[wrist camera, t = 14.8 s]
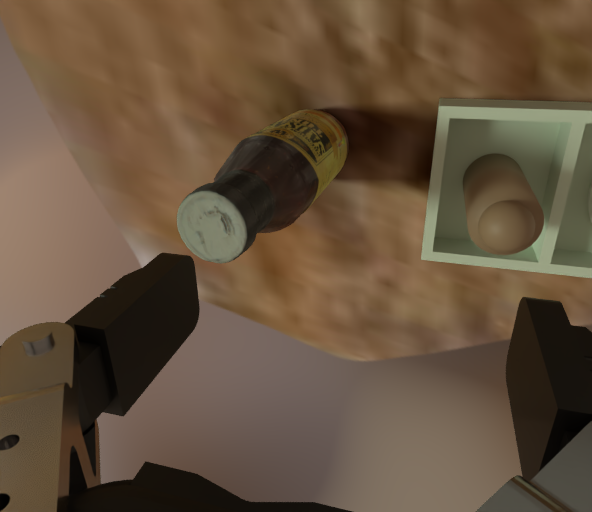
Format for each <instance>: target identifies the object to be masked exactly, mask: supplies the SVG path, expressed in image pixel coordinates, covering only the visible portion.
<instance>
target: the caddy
mask: <svg viewBox="0 0 592 512" xmlns="http://www.w3.org/2000/svg"><path fill="white" fill-rule="evenodd" d="M591 182H592V102H564V101H528V100H492V99H456V98H440V100H439V109H438V117H437V126H436V134H435V143H434V151H433V160H432V168H431V177H430V185H429V194H428V202H427V210H426V219H425V227H424V236H423V245H422V256H421V260H430V261H439V262H448V263H457V264H467V265H476V266H485V267H494V268H503V269H513V270H522V271H531V272H540V273H549V274H559V275H568V276H577V277H586V278H592V223H591V220H590V217H589V212H588V193H589V188H590V185H591Z"/></svg>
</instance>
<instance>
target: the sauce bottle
mask: <svg viewBox="0 0 592 512" xmlns="http://www.w3.org/2000/svg"><path fill="white" fill-rule="evenodd" d="M348 152H349V141H348V136H347V134H346V131H345V129H344V126H343V125H342V124H341V123H340V122H339V121H338V120H337V119H336V118H335V117H333V116H332V115H330V114H329V113H327V112H324V111H322V110H315V109H314V110H309V109H308V110H300V111H297V112H295V113H293V114H291V115H289V116H287V117H285V118H283V119H281V120H280V121H278V122H276V123H274V124H271V125H270V126H268V127H266V128H264V129H262V130H260V131H259V132H257V133H255V134H253V135H251V136H249V137H247V138H245V139H244V140H242V141H241V142H240V143H239V144H238V145H237V146H236V148H235V149H234V150H233V152H232V153H231V155H230V156H229V157H228V159H227V160H226V162H225V163H224V165H223V166H222V167H221V169H220V170H219V172H218V173H217V174H216V177H215V178H214V181H215V182H214V183H208V184H205V185H203V186H201V187H199V188H197V189H196V190H194V191H193V192H192V193H190V194H189V195H188V196H187V197H186V198H185V199H184V200H183V202H182V203H181V205H180V207H179V210H178V214H177V226H178V231H179V233H180V235H181V238H182V240H183V241H184V242H185V244H186V246H187V247H188V248H189V249H190V250H191V251H192V252H193V253H194V254H195V255H197V256H198V257H200V258H201V259H203V260H206V261H210V262H215V263H227V262H230V261H232V260H234V259H236V258H237V257H239V256H240V255H241V254H242V253H243V252H245V251H246V250H247V249H248V248H249V247H250V246H251V245H252V243H253V242H254V240H255V237H256V234H257V233H270V232H275V231H278V230H281V229H283V228H285V227H287V226H289V225H291V224H292V223H294V221H295V220H296V219H297V218H298V217H299V216H300V215H301V214H302V213H304V212H305V211H306V210H307V209H308V208H309V207H310V206H311V205H312V203H313V202H314V201H315V200H316V199H317V197H318V196H319V195H320V194H321V193H322V192H323V190H324V189H325V188H326V187H327V186H328V185H329V184H330V182H331V181H332V180H333V179H334V178H335V177H336V175H337V174H338V173H339V172H340V170H341V169H342V167H343V165H344V163H345V160H346V158H347V155H348Z"/></svg>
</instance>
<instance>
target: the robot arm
mask: <svg viewBox="0 0 592 512" xmlns="http://www.w3.org/2000/svg"><path fill="white" fill-rule="evenodd" d="M198 317H199V299H198V291H197V282H196V273H195V265H194V261H193V259H192V257H190V256H187V255H179V254H171V253H161V254H159V255H158V256H157V257H155V258H154V259H153V260H152V261H151V262H149V263H148V264H147V265H146V266H144V267H143V268H141V269H139V270H136V271H134V272H132V273H130V274H128V275H125V276H123V277H122V278H121V279H119V280H118V281H117V282H116V283H114V284H113V285H112V286H111V288H110V289H107V290H106V291H104V292H103V293H102V294H100V297H97V298H95V299H94V300H93V301H92V302H91V303H89V304H88V305H87V306H86V307H84V308H83V309H82V310H80V311H79V312H78V313H77V314H75V315H74V316H73V317H71V318H70V319H69V320H68V321H66V322H65V323H60V322H46V323H40V324H36V325H33V326H30V327H27V328H24V329H22V330H20V331H18V332H17V333H15V334H13V335H11V336H10V337H9V338H8V339H7V340H6V341H5V342H4V343H3V344H2V346H0V512H352V511H348V510H343V509H339V508H335V507H331V506H327V505H323V504H319V503H315V502H249V501H245V500H243V499H241V498H239V497H238V496H236V495H234V494H232V493H230V492H228V491H227V490H225V489H223V488H221V487H220V486H218V485H216V484H214V483H212V482H211V481H209V480H207V479H205V478H203V477H202V476H200V475H198V474H195V473H191V472H186V471H183V470H179V469H174V468H170V467H166V466H162V465H158V464H154V463H150V462H145V463H144V465H143V466H142V467H141V469H140V470H139V472H138V473H137V475H136V476H135V478H134V479H133V480H122V481H114V482H109V483H105V484H101V475H100V448H99V447H100V446H99V428H98V423H97V418H98V417H99V415H100V414H101V413H102V412H105V413H110V414H115V415H119V416H124V415H125V414H126V412H127V411H128V410H129V409H130V408H131V407H132V405H133V404H134V403H135V402H136V400H137V399H138V398H139V397H140V396H141V394H142V393H143V392H144V391H145V389H146V388H147V387H148V386H149V384H150V383H151V382H152V381H153V379H154V378H155V377H156V376H157V374H158V373H159V372H160V371H161V370H162V368H163V367H164V366H165V365H166V363H167V362H168V361H169V360H170V359H171V357H172V356H173V355H174V354H175V352H176V351H177V350H178V349H179V348H180V346H181V345H182V344H183V343H184V341H185V340H186V339H187V338H188V336H189V335H190V334H191V333H192V332H193V330H194V329H195V327H196V324H197V322H198ZM506 383H507V388H508V395H509V400H510V406H511V412H512V417H513V424H514V429H515V435H516V441H517V447H518V452H519V458H520V464H521V470H522V475H523V477H521V476H515V477H513V478H512V479H510V480H509V481H508V482H506V483H505V484H504V485H503V486H502V487H501V488H500V489H499V490H498V491H497V492H496V493H495V494H494V495H493V496H492V497H491V498H489V499H488V500H487V501H486V502H485V503H484V504H483V505H482V506H481V507H480V508H479V509H478V510H477V511H476V512H592V332H591V331H589V330H588V329H587V328H586V327H580V326H572V325H571V324H570V322H569V320H568V317H567V315H566V312H565V310H564V308H563V305H562V303H561V302H560V301H553V300H545V299H536V298H528V297H523V298H522V299H521V301H520V303H519V307H518V311H517V316H516V320H515V324H514V329H513V333H512V337H511V342H510V346H509V350H508V355H507V363H506Z"/></svg>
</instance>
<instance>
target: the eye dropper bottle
mask: <svg viewBox="0 0 592 512" xmlns="http://www.w3.org/2000/svg"><path fill="white" fill-rule="evenodd" d="M588 212H589V217H590V220H591V223H592V182H591V185H590V188H589V193H588Z"/></svg>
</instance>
